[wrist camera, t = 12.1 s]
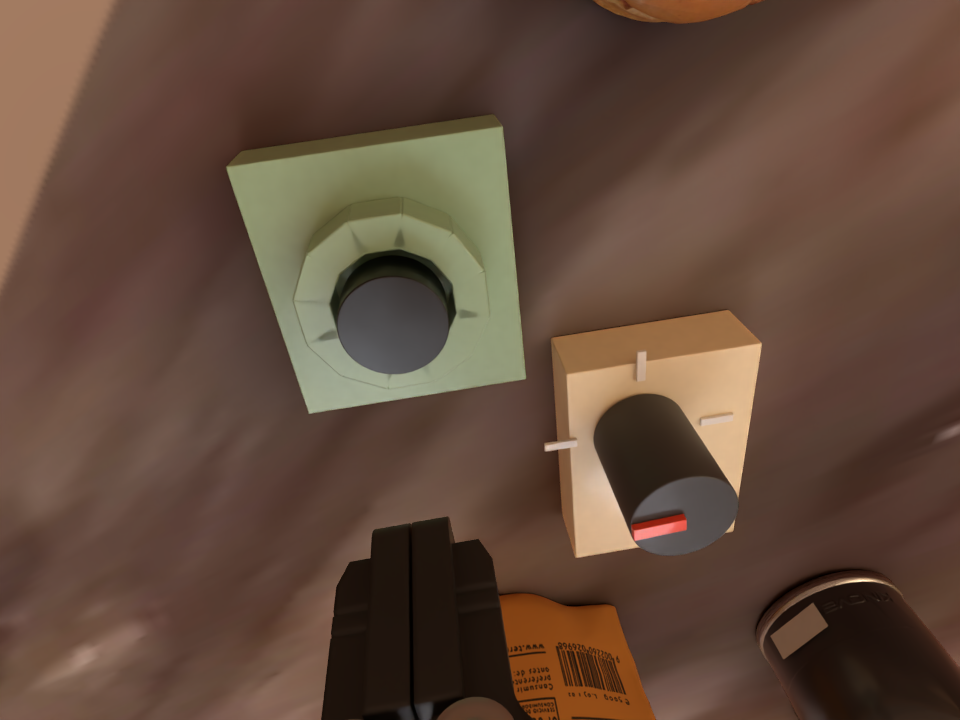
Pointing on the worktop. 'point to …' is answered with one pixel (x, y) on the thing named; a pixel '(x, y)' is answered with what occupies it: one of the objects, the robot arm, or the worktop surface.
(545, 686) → the coffee package
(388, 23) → the worktop surface
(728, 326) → the panel
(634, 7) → the burger
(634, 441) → the dial
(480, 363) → the button box
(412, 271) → the button
